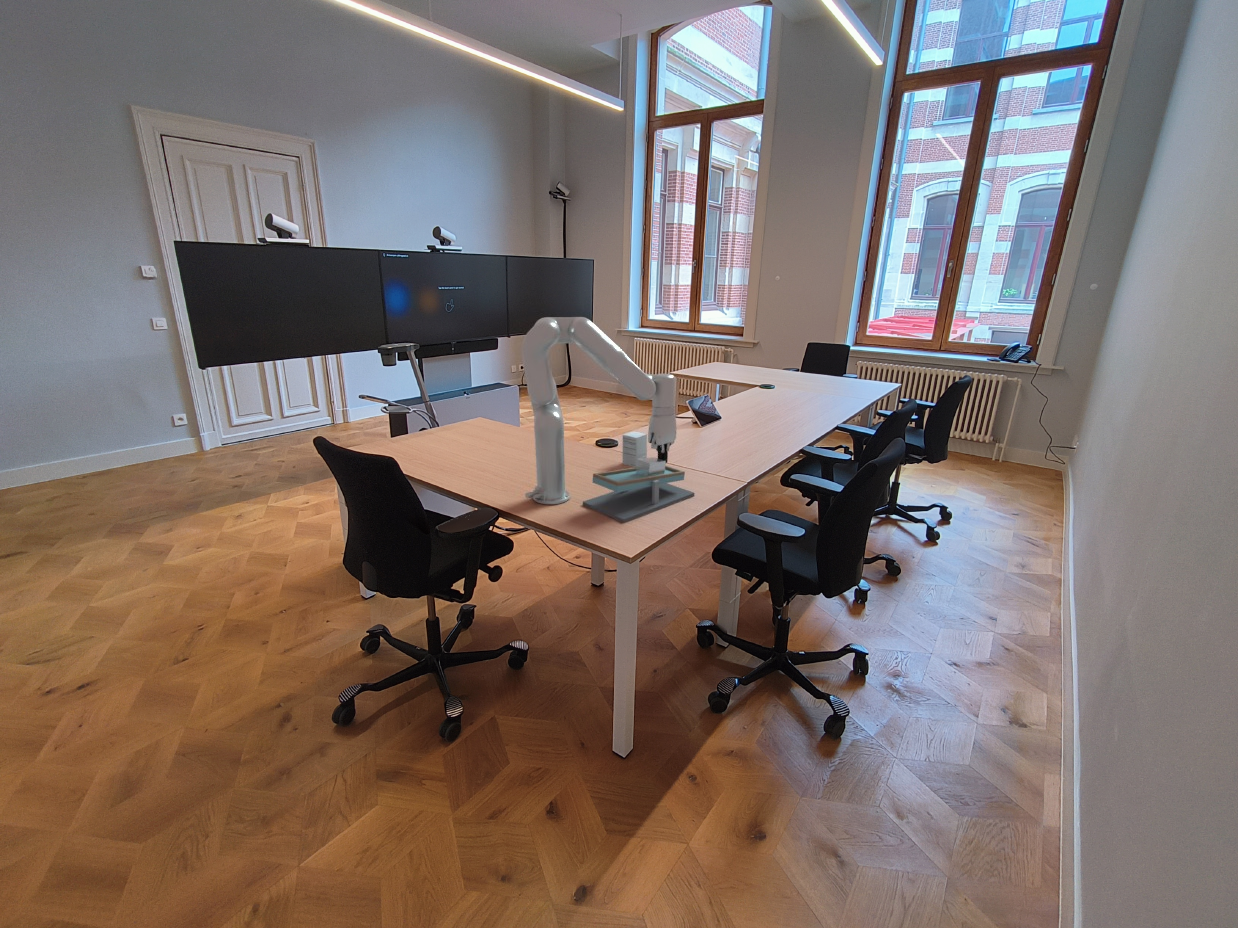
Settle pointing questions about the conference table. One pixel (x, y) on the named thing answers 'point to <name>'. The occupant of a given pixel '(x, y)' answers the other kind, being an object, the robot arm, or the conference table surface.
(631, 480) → the beam
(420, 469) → the conference table surface
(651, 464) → the steel block
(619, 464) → the conference table surface
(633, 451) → the supplement box
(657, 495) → the stand
